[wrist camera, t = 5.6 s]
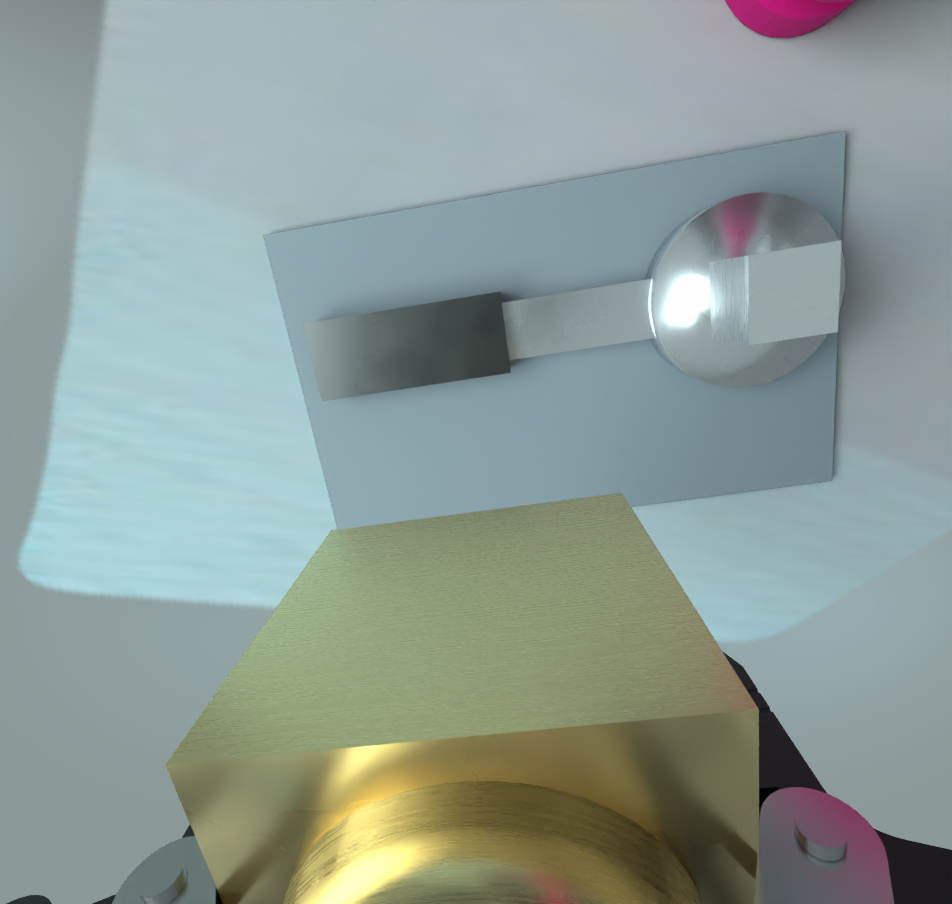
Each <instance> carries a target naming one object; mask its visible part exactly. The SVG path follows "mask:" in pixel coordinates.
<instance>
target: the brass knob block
mask: <svg viewBox="0 0 952 904" xmlns="http://www.w3.org/2000/svg"><path fill="white" fill-rule="evenodd" d="M166 768H167V770H168V772H169V775H170V777H171V780H172V782H173V784H174V787H175V789H176V792H177V794H178V796H179V799H180V801H181V803H182V806H183V808H184V810H185V813H186V815H187V818H188V820H189V822H190V825H191V827H192V830H193V832H194V835H195V837H196V839H197V842H198V844H199V847H200V849H201V851H202V854H203V856H204V859H205V861H206V863H207V866H208V868H209V871H210V873H211V875H212V878H213V880H214V883H215V885H216V887H217V890H218V892H219V894H220V897H221V899H222V902H223V904H754V898H755V883H756V867H757V853H759V709H758V707H757V706H756V704H755V702H754V701H753V699H752V698H751V696H750V695H749V693H748V691H747V690H746V688H745V687H744V685H743V684H742V682H741V680H740V679H739V677H738V676H737V674H736V672H735V671H734V669H733V668H732V666H731V665H730V663H729V661H728V660H727V658H726V657H725V655H724V654H723V652H722V650H721V649H720V647H719V646H718V644H717V642H716V641H715V639H714V638H713V636H712V635H711V633H710V631H709V630H708V628H707V627H706V625H705V623H704V622H703V620H702V619H701V617H700V616H699V614H698V612H697V611H696V609H695V608H694V606H693V605H692V603H691V601H690V600H689V598H688V597H687V595H686V593H685V592H684V590H683V589H682V587H681V586H680V584H679V582H678V581H677V579H676V578H675V576H674V574H673V573H672V571H671V570H670V568H669V567H668V565H667V563H666V562H665V560H664V559H663V557H662V556H661V554H660V552H659V551H658V549H657V548H656V546H655V544H654V543H653V541H652V540H651V538H650V537H649V535H648V533H647V532H646V530H645V529H644V527H643V525H642V524H641V522H640V521H639V519H638V518H637V516H636V514H635V513H634V511H633V510H632V508H631V507H630V505H629V503H628V502H627V500H626V499H625V497H624V495H623V494H622V493H615V494H608V495H600V496H592V497H585V498H577V499H569V500H561V501H554V502H546V503H538V504H531V505H523V506H515V507H508V508H500V509H492V510H484V511H477V512H469V513H461V514H454V515H446V516H438V517H431V518H423V519H415V520H407V521H400V522H392V523H384V524H377V525H369V526H361V527H354V528H346V529H338V530H331V531H330V533H329V534H328V536H327V537H326V539H325V540H324V541H323V543H322V544H321V546H320V547H319V548H318V550H317V551H316V553H315V554H314V556H313V557H312V558H311V560H310V561H309V563H308V564H307V565H306V567H305V568H304V570H303V571H302V572H301V574H300V575H299V577H298V578H297V580H296V581H295V582H294V584H293V585H292V587H291V588H290V589H289V591H288V592H287V594H286V595H285V596H284V598H283V599H282V601H281V602H280V604H279V605H278V606H277V608H276V609H275V611H274V612H273V614H272V615H271V616H270V618H269V619H268V621H267V622H266V623H265V625H264V626H263V628H262V629H261V630H260V632H259V633H258V635H257V636H256V637H255V639H254V641H253V642H252V643H251V645H250V646H249V647H248V649H247V650H246V652H245V653H244V655H243V656H242V658H241V659H240V660H239V662H238V663H237V665H236V666H235V667H234V669H233V670H232V671H231V673H230V674H229V676H228V677H227V678H226V680H225V681H224V683H223V684H222V686H221V687H220V689H219V690H218V691H217V693H216V694H215V695H214V697H213V699H212V700H211V701H210V703H209V704H208V705H207V707H206V708H205V710H204V711H203V713H202V714H201V715H200V717H199V718H198V719H197V721H196V722H195V724H194V725H193V727H192V728H191V729H190V731H189V732H188V734H187V735H186V737H185V738H184V740H183V741H182V742H181V743H180V745H179V747H178V748H177V749H176V751H175V752H174V753H173V755H172V756H171V758H170V759H169V760H168V762H167V763H166Z"/></svg>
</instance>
